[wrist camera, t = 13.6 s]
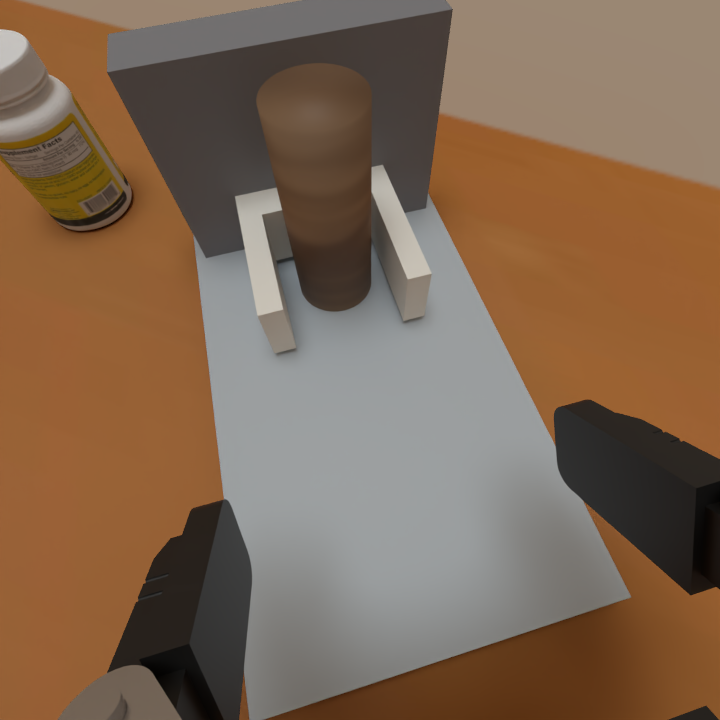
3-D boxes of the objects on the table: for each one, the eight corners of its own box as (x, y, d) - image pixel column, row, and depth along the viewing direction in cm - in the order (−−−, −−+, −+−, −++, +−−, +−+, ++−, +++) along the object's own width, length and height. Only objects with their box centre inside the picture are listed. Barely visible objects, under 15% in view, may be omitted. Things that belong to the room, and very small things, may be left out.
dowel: (364, 316, 20) (360, 136, 12) (292, 306, 20) (241, 126, 12) (376, 259, 21) (379, 67, 13) (309, 251, 22) (273, 59, 14)
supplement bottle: (66, 180, 27) (-54, 27, 19) (140, 175, 27) (49, 19, 19) (45, 237, 24) (-99, 87, 17) (126, 230, 24) (17, 78, 17)
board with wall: (613, 595, 15) (962, 621, 6) (259, 713, 14) (46, 959, 5) (416, 190, 25) (438, -27, 16) (200, 238, 24) (93, 33, 15)
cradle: (424, 315, 19) (431, 273, 17) (274, 353, 19) (257, 315, 16) (381, 213, 22) (382, 164, 20) (252, 243, 22) (234, 196, 19)
